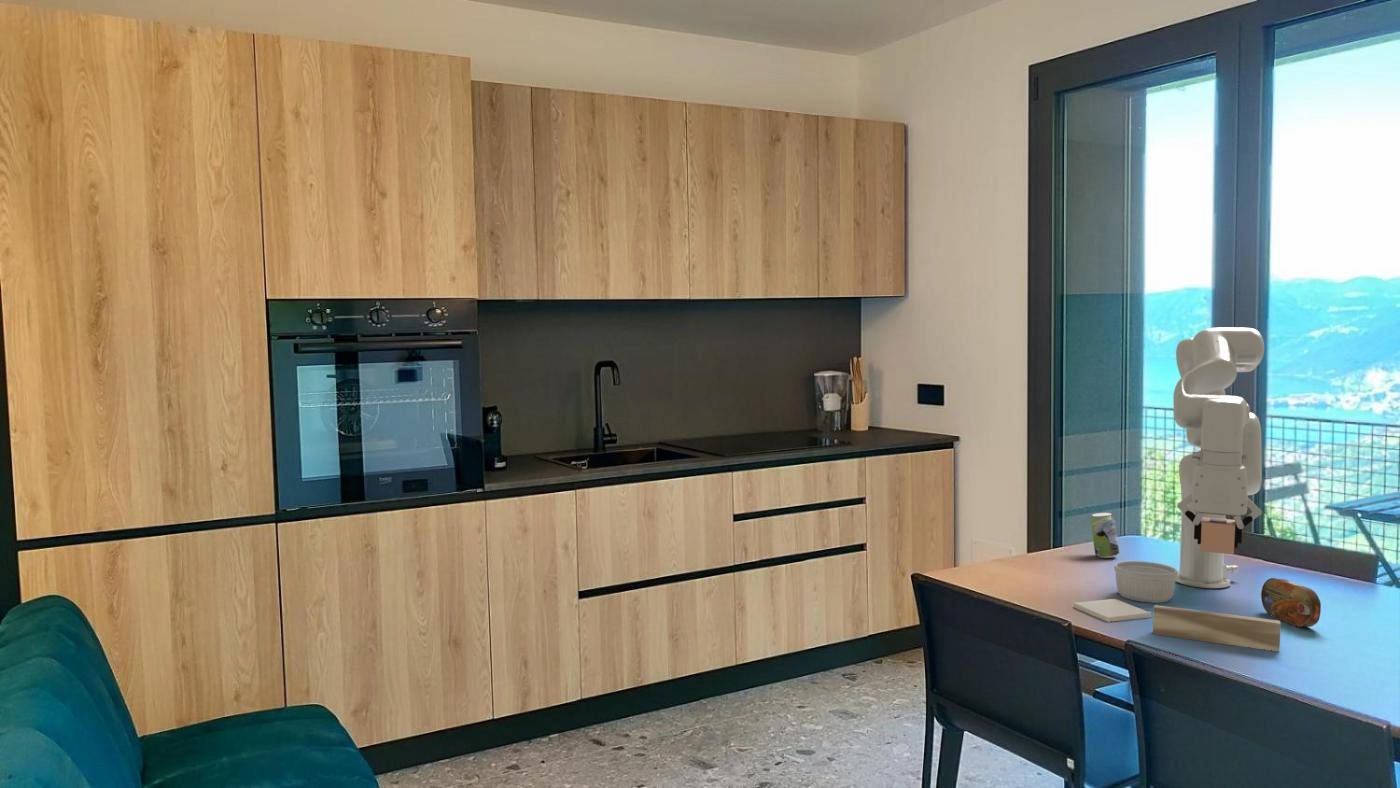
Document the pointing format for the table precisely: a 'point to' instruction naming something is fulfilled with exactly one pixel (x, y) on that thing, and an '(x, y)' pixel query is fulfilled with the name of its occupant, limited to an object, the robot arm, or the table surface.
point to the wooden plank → (1217, 627)
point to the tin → (1291, 602)
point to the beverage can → (1104, 535)
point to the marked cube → (1217, 535)
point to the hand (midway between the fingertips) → (1217, 543)
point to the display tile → (1112, 610)
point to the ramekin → (1145, 581)
